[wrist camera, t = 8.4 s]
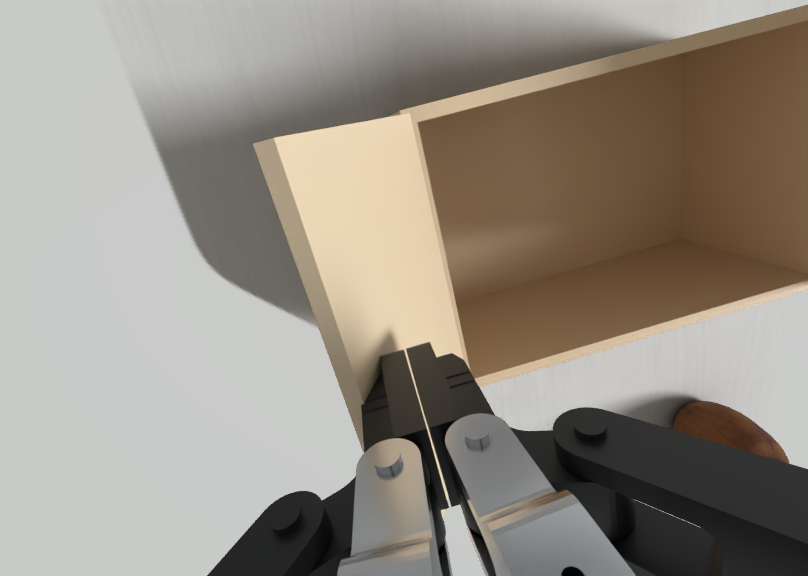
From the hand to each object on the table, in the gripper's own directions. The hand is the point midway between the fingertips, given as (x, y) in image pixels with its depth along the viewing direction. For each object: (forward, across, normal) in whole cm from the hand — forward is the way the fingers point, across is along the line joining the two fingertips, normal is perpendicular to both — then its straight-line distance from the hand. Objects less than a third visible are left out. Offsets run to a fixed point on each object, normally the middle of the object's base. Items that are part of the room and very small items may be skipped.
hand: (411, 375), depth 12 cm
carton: (+18, -13, 0) cm, 22 cm away
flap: (+3, -1, 0) cm, 3 cm away
